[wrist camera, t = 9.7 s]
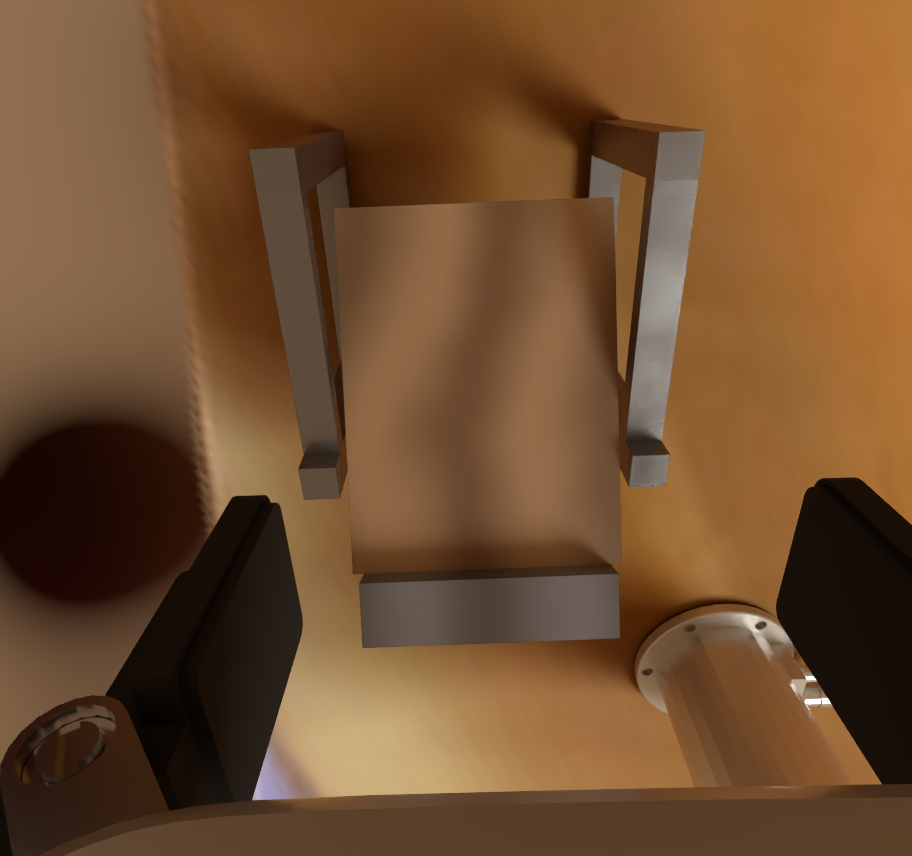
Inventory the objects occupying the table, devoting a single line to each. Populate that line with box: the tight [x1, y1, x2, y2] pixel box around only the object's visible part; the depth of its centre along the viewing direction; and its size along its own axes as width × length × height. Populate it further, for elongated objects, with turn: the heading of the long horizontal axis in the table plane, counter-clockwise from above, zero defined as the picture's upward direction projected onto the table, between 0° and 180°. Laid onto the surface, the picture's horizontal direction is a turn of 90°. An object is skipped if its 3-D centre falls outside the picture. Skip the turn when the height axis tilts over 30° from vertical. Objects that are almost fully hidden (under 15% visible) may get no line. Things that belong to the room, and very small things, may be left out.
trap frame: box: [249, 119, 705, 500], centre depth 29 cm, size 16×14×13 cm
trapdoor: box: [334, 197, 622, 648], centre depth 27 cm, size 12×19×4 cm, turn 2°
